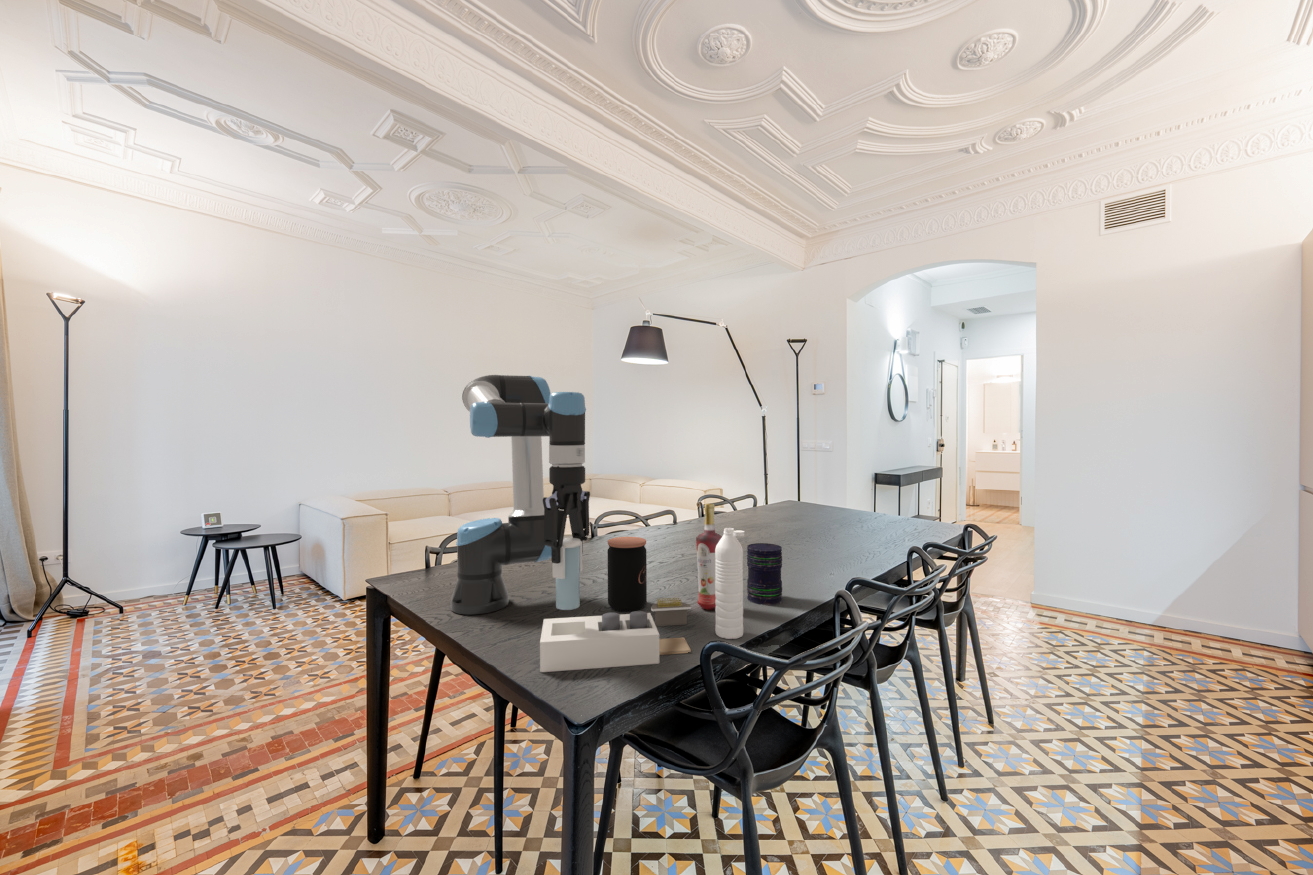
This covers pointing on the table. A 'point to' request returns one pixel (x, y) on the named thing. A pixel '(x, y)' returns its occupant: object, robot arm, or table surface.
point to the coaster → (673, 646)
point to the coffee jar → (627, 573)
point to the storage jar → (764, 573)
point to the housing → (596, 644)
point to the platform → (670, 612)
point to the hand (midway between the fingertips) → (567, 573)
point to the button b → (638, 620)
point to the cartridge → (569, 577)
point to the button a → (610, 621)
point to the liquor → (707, 560)
